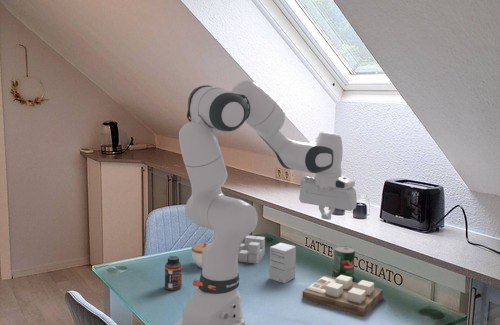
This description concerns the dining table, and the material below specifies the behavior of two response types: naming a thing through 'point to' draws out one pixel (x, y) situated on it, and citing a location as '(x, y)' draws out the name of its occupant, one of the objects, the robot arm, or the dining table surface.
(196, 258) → the lidded jar
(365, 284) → the button far right
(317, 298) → the button board
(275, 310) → the dining table surface
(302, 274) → the dining table surface
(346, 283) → the button far left
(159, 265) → the dining table surface
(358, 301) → the button near right
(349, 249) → the canned tomato
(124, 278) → the dining table surface
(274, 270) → the supplement box
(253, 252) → the puzzle cube
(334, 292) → the button near left
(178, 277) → the supplement bottle
